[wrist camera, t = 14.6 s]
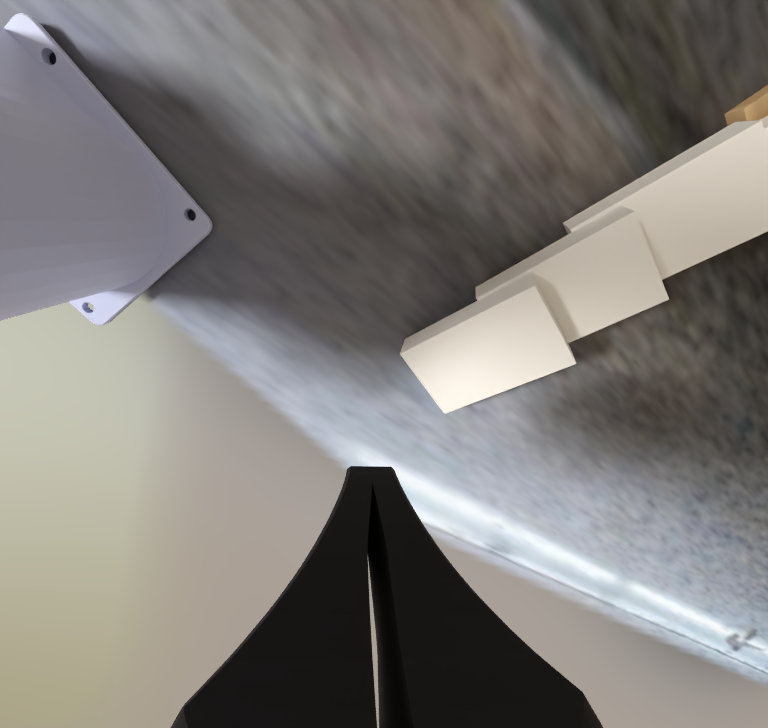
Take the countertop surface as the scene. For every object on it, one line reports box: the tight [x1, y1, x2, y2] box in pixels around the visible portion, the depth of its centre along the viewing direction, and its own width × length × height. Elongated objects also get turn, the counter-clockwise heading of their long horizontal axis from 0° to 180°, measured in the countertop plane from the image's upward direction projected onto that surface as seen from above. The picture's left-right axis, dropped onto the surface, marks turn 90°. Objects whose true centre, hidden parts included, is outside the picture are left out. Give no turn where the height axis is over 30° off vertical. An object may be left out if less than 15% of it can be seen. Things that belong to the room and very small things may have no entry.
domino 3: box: [563, 120, 768, 280], centre depth 16 cm, size 4×2×7 cm
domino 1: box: [400, 273, 577, 414], centre depth 18 cm, size 4×2×7 cm
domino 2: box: [475, 205, 669, 343], centre depth 17 cm, size 4×2×7 cm
